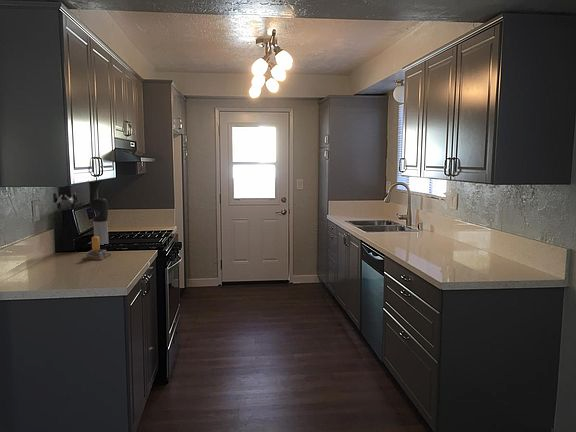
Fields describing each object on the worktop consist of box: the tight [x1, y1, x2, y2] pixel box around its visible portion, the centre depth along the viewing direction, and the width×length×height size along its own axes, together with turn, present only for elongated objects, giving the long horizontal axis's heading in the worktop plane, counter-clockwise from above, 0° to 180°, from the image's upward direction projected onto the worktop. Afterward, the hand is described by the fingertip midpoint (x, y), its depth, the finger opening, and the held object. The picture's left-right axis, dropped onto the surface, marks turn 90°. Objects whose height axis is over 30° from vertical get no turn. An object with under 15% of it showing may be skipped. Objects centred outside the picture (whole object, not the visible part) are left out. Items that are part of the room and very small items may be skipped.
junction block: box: [81, 249, 112, 261], centre depth 295 cm, size 15×12×4 cm
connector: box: [91, 236, 101, 252], centre depth 294 cm, size 4×4×12 cm
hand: (66, 209), depth 299 cm, fingers open, 8 cm apart
